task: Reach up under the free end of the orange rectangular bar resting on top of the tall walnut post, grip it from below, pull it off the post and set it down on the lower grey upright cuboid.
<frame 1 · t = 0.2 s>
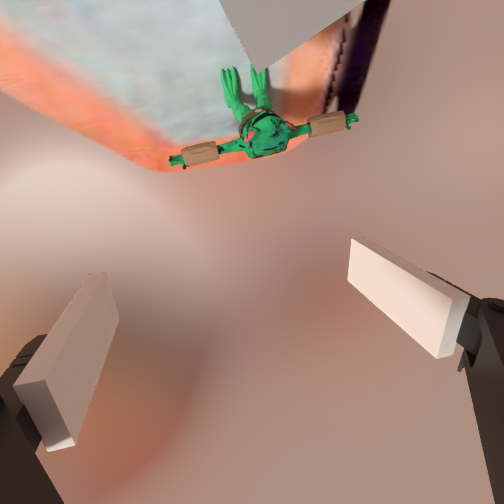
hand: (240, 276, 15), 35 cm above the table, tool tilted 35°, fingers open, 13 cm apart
toy: (244, 85, 42), on the table
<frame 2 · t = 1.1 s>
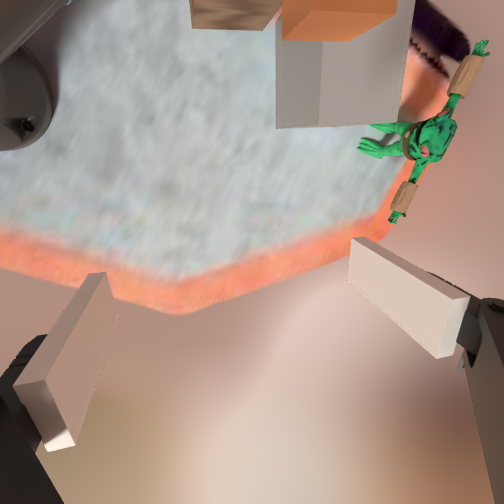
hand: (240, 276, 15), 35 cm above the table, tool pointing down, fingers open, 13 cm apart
grey upright cuboid: (306, 79, 44), on the table
toy: (376, 137, 50), on the table
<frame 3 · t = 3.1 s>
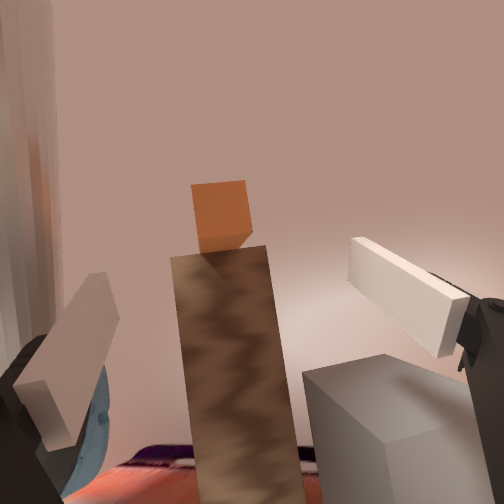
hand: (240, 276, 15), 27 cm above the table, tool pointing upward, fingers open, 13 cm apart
orange rectangular bar: (218, 253, 31), point 30 cm above the table, touching post
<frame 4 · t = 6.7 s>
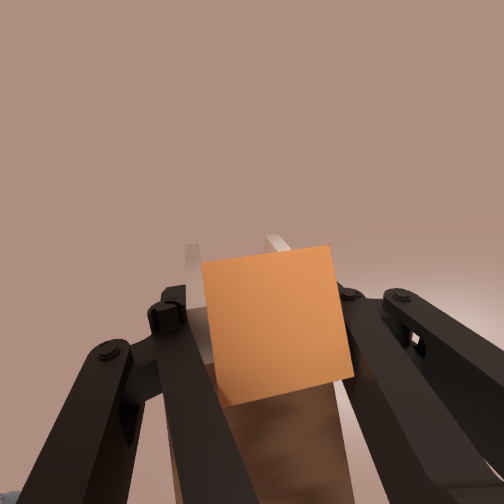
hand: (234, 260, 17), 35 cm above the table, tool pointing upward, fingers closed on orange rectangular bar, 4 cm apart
orange rectangular bar: (240, 333, 19), point 30 cm above the table, touching gripper, post
when the fingers open (25 cm above the table, at t = 13.2 s): orange rectangular bar drops 4 cm, resting on grey upright cuboid.
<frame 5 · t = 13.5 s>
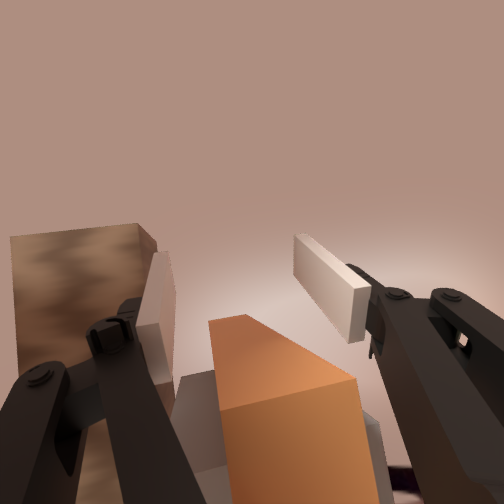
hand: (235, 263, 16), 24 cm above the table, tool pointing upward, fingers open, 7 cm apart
orange rectangular bar: (249, 395, 18), point 16 cm above the table, touching grey upright cuboid
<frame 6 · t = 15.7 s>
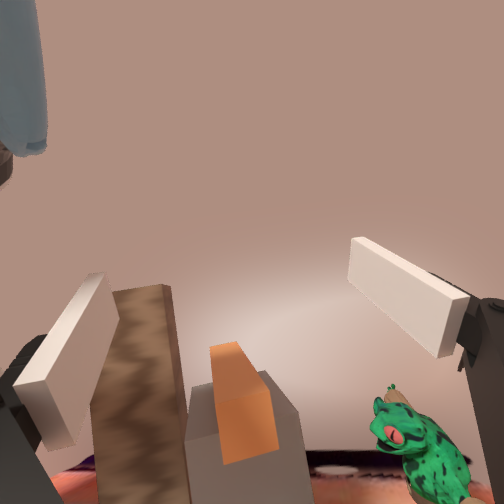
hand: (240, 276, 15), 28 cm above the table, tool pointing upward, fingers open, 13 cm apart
orange rectangular bar: (235, 399, 30), point 16 cm above the table, touching grey upright cuboid
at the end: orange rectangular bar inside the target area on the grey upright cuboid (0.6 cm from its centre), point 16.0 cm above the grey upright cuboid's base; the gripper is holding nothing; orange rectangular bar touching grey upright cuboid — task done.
